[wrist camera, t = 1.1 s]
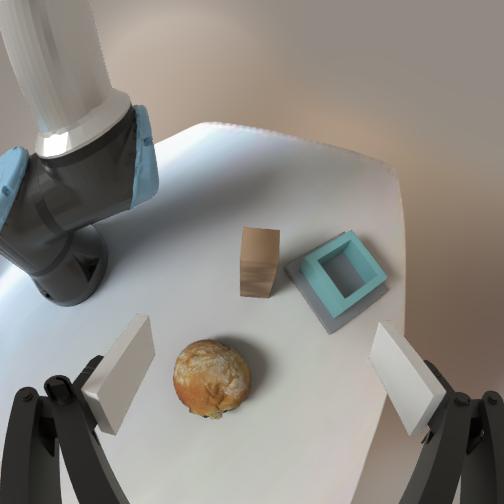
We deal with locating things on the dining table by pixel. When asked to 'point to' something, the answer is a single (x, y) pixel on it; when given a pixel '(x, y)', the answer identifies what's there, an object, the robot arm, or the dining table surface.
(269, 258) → the walnut post
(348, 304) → the teal square socket
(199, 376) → the bread roll
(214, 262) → the dining table surface
